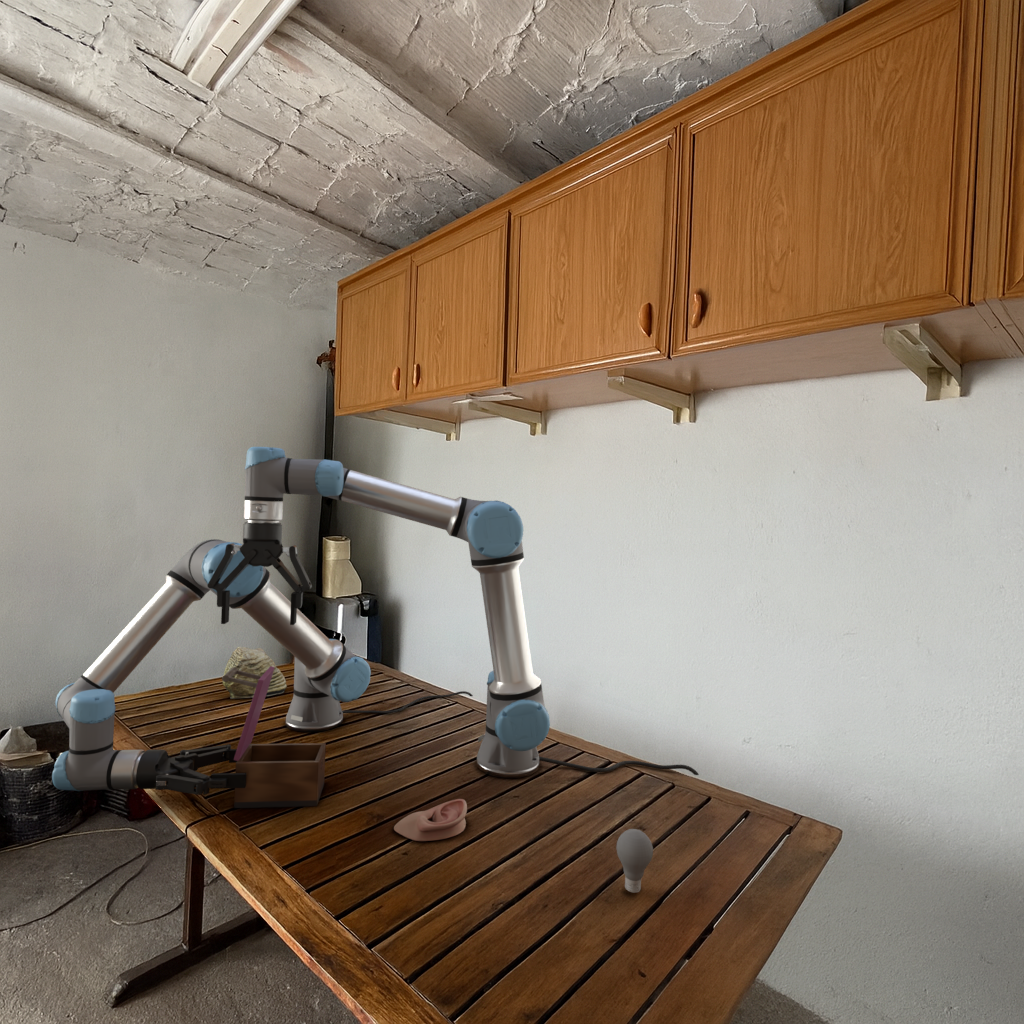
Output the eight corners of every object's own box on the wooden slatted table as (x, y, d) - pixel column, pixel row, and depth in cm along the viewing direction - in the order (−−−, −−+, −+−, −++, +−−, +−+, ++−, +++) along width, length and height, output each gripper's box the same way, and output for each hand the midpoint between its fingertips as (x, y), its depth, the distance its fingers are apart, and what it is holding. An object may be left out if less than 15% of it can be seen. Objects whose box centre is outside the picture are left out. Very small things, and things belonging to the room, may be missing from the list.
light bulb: (610, 879, 108) (613, 822, 108) (644, 879, 109) (647, 822, 109) (619, 902, 102) (622, 840, 102) (655, 901, 103) (658, 840, 103)
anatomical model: (388, 815, 119) (410, 788, 130) (387, 836, 119) (409, 808, 130) (456, 826, 116) (472, 797, 127) (455, 847, 116) (471, 817, 128)
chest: (324, 784, 140) (325, 743, 140) (316, 806, 130) (318, 762, 130) (247, 785, 137) (249, 743, 137) (234, 808, 127) (235, 763, 127)
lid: (274, 667, 138) (236, 657, 136) (263, 680, 128) (222, 669, 126) (251, 742, 137) (212, 732, 136) (238, 761, 127) (196, 751, 126)
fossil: (218, 695, 195) (220, 647, 195) (278, 685, 208) (279, 640, 207) (228, 703, 189) (230, 653, 188) (289, 692, 201) (290, 645, 201)
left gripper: (164, 763, 141) (266, 761, 145) (113, 816, 118) (236, 813, 121) (166, 729, 141) (267, 728, 144) (115, 776, 118) (238, 774, 121)
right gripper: (193, 519, 126) (189, 625, 127) (322, 524, 130) (318, 627, 130) (205, 518, 134) (202, 618, 134) (327, 523, 137) (323, 620, 138)
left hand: (253, 767), depth 133 cm, fingers open, 12 cm apart
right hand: (259, 623), depth 132 cm, fingers open, 13 cm apart
